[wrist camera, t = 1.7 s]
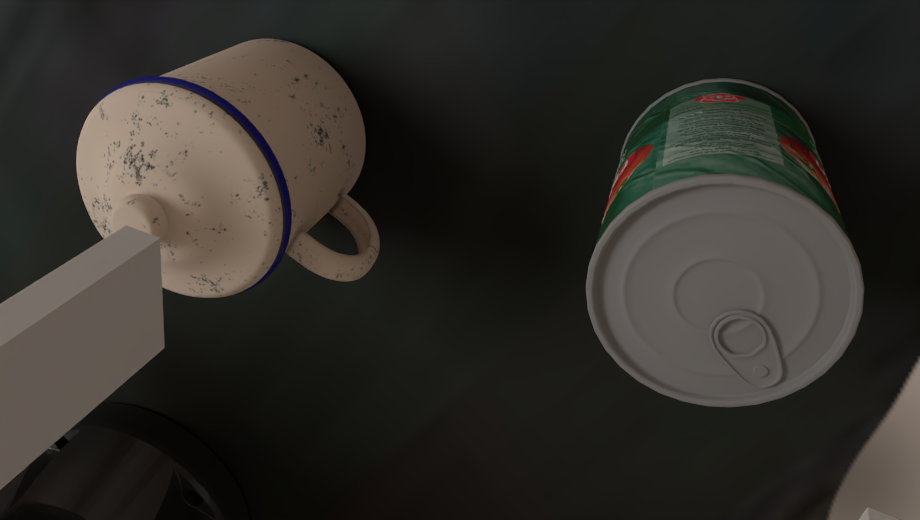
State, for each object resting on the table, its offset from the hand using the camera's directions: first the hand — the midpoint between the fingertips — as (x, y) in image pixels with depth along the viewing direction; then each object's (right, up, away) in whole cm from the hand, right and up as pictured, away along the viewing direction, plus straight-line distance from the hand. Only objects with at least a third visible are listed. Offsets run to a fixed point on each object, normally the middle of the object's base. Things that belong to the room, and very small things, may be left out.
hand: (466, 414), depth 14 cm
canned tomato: (+11, +7, +19) cm, 22 cm away
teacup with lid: (-7, +8, +23) cm, 26 cm away
